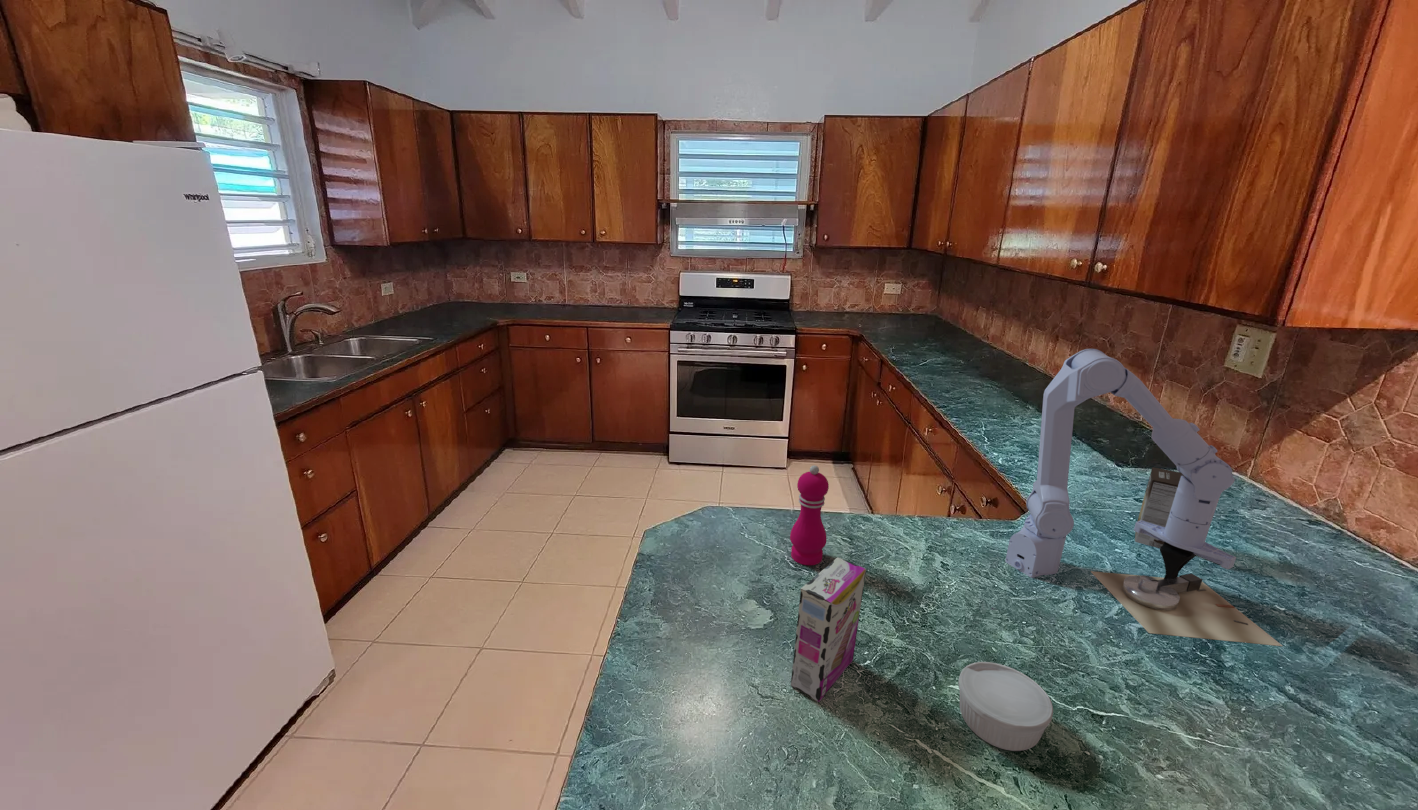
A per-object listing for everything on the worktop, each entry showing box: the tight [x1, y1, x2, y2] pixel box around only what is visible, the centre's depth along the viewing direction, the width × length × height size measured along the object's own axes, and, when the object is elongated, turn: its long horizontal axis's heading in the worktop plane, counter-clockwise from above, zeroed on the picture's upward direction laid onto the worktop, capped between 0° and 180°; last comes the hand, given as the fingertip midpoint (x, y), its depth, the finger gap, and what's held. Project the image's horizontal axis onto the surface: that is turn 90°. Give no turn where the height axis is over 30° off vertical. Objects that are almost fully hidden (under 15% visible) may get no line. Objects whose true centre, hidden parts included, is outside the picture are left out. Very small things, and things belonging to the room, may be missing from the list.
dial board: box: [1090, 570, 1283, 647], centre depth 99 cm, size 20×18×1 cm
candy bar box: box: [790, 556, 867, 703], centre depth 80 cm, size 11×5×16 cm, turn 141°
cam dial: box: [1122, 573, 1203, 611], centre depth 101 cm, size 15×8×4 cm, turn 105°
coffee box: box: [1134, 466, 1186, 549], centre depth 120 cm, size 9×6×16 cm
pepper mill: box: [789, 464, 829, 566], centre depth 110 cm, size 7×7×20 cm
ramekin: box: [958, 661, 1054, 752], centre depth 74 cm, size 11×11×5 cm
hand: (1169, 582), depth 103 cm, fingers closed, pressing on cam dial
